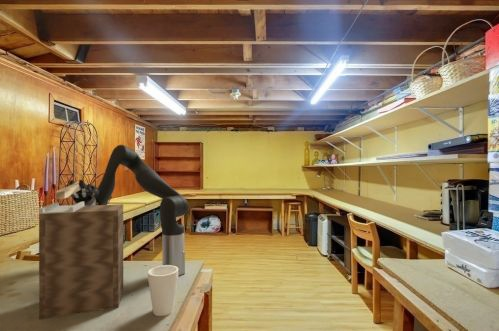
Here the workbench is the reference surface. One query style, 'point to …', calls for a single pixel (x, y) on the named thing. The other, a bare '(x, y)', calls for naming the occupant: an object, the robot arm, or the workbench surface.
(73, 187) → the beige wooden rod
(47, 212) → the trough
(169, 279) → the foam cup
